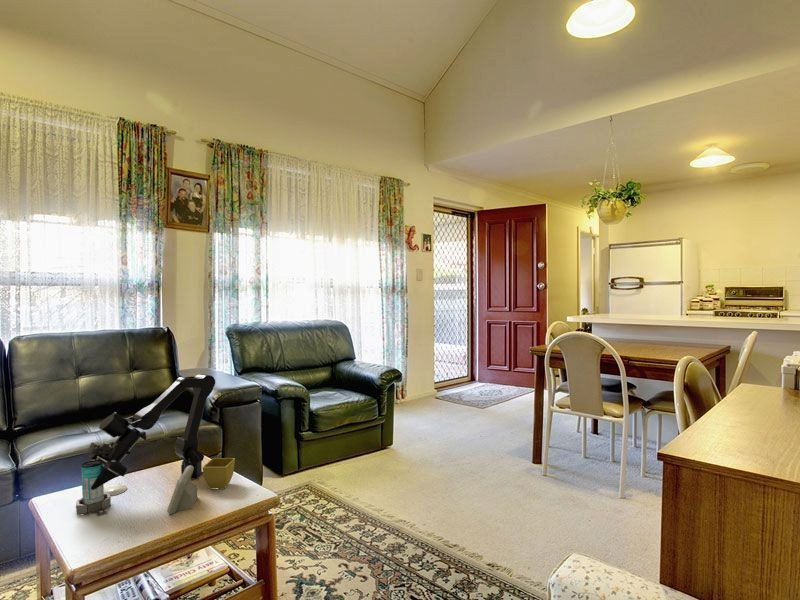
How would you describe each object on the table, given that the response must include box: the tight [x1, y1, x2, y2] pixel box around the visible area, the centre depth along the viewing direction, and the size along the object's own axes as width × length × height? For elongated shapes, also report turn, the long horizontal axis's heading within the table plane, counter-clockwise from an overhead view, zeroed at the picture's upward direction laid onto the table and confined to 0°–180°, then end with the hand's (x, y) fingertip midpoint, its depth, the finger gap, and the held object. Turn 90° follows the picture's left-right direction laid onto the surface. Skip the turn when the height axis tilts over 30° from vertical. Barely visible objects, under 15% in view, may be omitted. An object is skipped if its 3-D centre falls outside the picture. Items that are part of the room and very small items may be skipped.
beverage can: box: [81, 459, 105, 505], centre depth 156 cm, size 6×6×15 cm
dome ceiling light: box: [104, 483, 128, 497], centre depth 170 cm, size 9×9×1 cm
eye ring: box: [75, 493, 112, 517], centre depth 156 cm, size 15×10×3 cm
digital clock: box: [166, 465, 198, 515], centre depth 158 cm, size 16×9×11 cm, turn 1°
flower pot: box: [202, 457, 236, 489], centre depth 172 cm, size 9×9×9 cm
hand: (88, 486), depth 155 cm, fingers closed on beverage can, 6 cm apart
